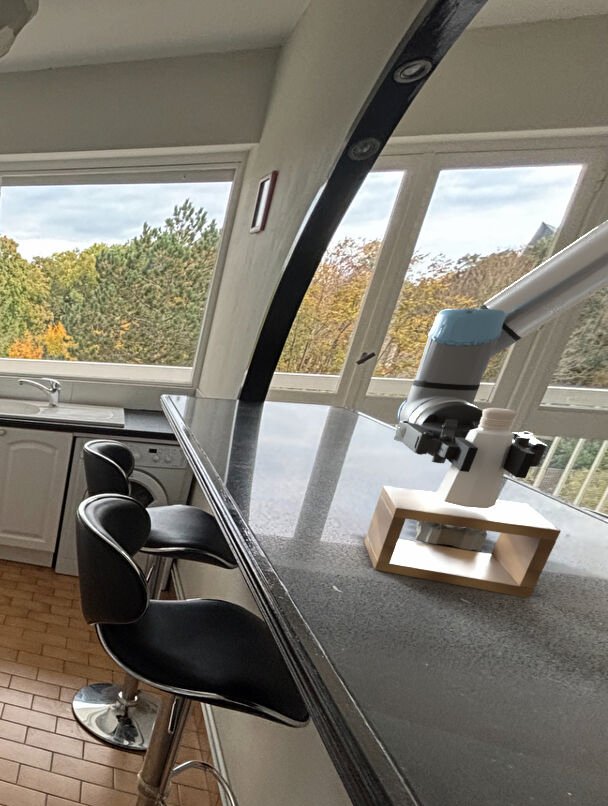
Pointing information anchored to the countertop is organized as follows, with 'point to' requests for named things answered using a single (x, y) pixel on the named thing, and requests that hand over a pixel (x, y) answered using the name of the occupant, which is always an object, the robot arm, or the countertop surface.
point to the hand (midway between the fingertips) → (496, 462)
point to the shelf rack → (499, 572)
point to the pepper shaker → (481, 463)
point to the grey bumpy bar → (450, 535)
